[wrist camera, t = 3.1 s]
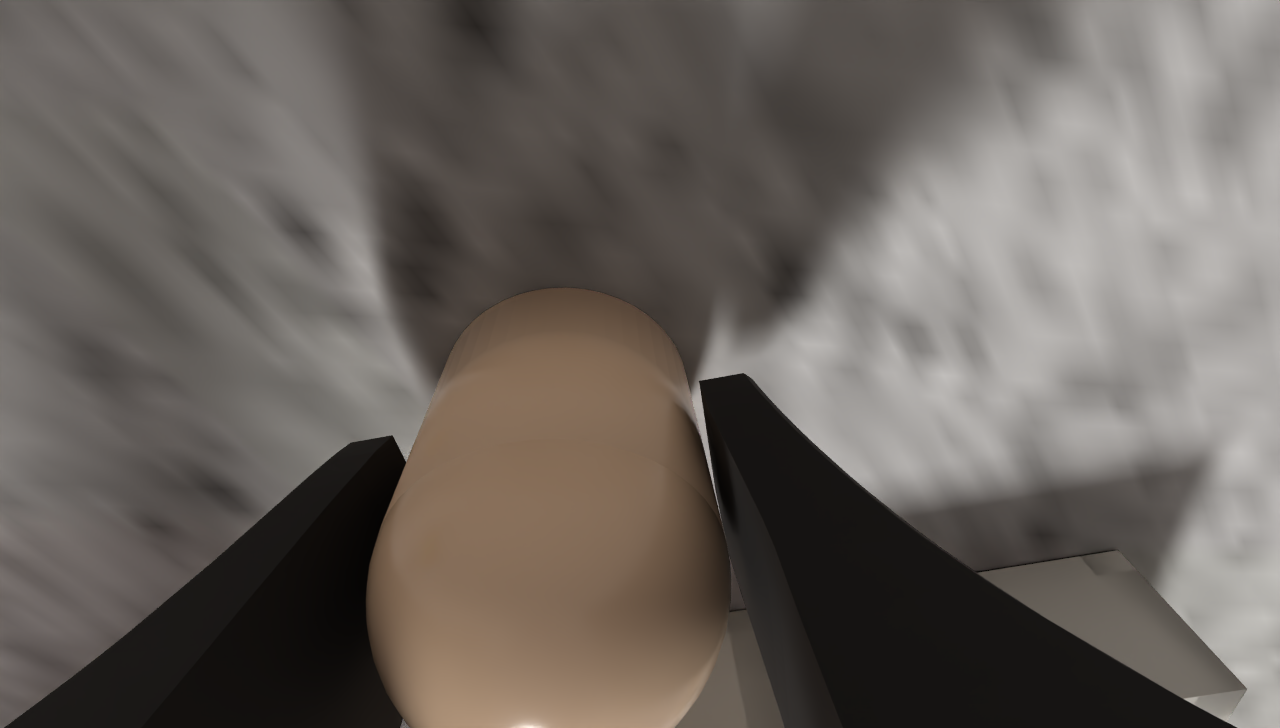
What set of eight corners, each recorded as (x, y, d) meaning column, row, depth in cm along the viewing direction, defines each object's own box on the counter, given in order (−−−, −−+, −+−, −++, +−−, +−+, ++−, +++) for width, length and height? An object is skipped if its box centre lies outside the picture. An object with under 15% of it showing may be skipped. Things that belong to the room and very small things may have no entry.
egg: (488, 505, 11) (410, 886, 6) (404, 317, 9) (194, 673, 4) (702, 465, 11) (784, 825, 6) (665, 263, 9) (748, 574, 4)
